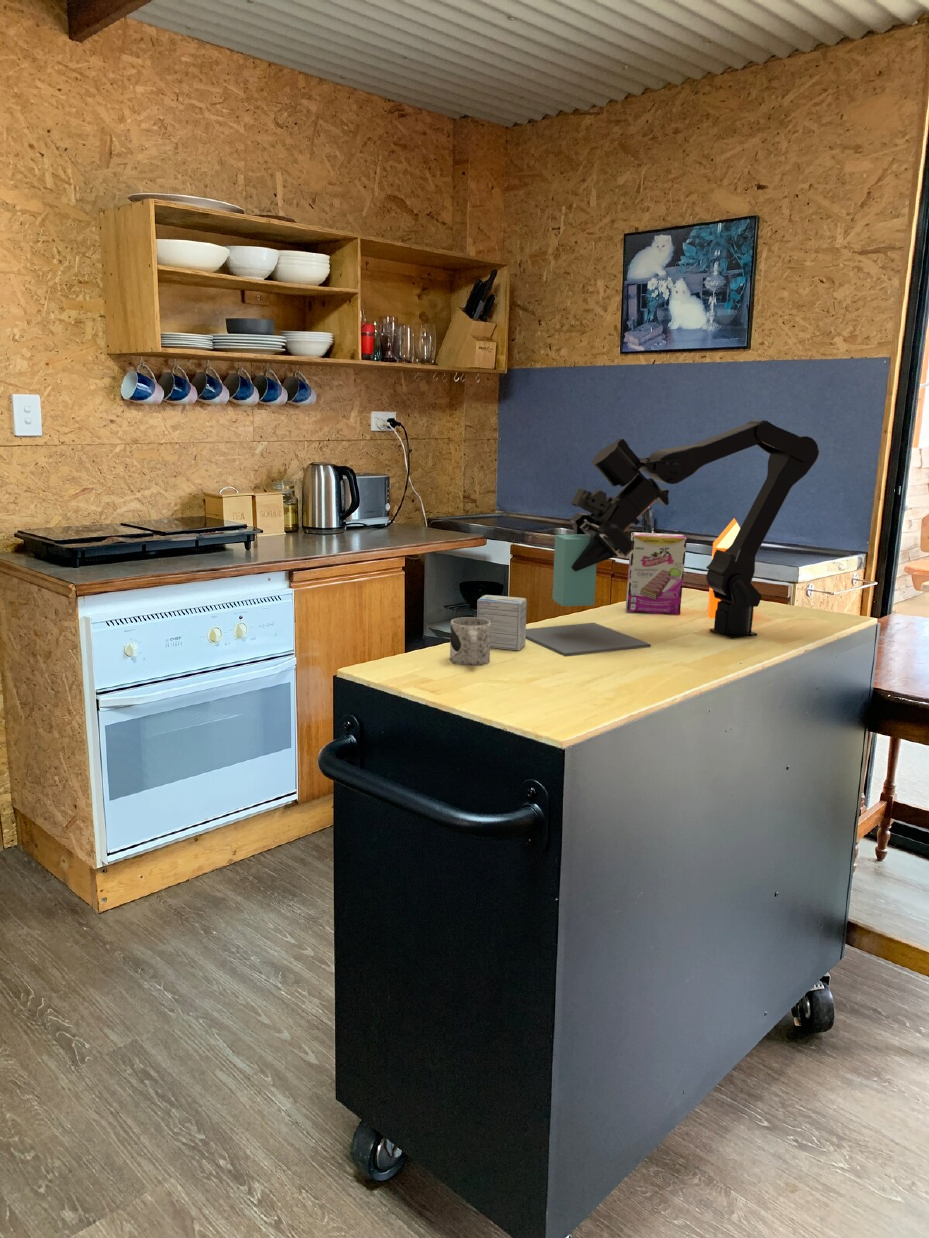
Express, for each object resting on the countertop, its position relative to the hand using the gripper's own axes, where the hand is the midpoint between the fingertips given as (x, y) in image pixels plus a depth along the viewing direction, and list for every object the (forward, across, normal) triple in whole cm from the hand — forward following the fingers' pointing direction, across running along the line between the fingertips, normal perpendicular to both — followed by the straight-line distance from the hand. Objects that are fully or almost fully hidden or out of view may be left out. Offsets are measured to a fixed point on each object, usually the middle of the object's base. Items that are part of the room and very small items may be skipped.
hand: (567, 566), depth 167 cm
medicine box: (+19, +4, 0) cm, 19 cm away
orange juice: (-19, -16, +39) cm, 46 cm away
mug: (+24, +14, -5) cm, 28 cm away
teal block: (+4, 0, +6) cm, 7 cm away
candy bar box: (-9, -21, +28) cm, 36 cm away
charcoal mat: (+8, +1, +11) cm, 14 cm away
